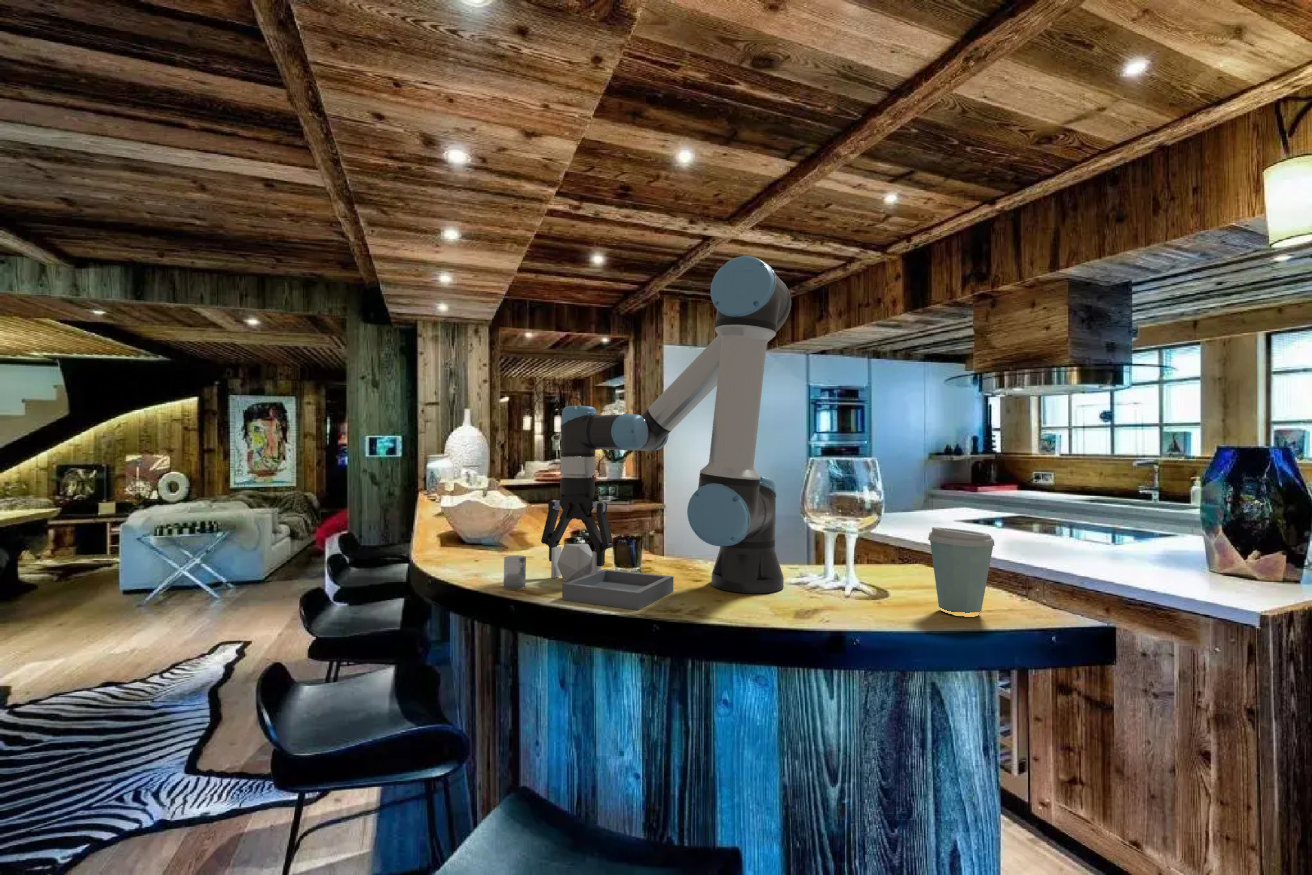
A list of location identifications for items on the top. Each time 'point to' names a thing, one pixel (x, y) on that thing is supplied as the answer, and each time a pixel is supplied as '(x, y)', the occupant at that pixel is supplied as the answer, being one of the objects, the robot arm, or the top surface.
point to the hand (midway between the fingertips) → (576, 578)
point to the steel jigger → (514, 572)
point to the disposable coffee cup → (960, 567)
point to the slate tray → (618, 589)
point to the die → (575, 561)
